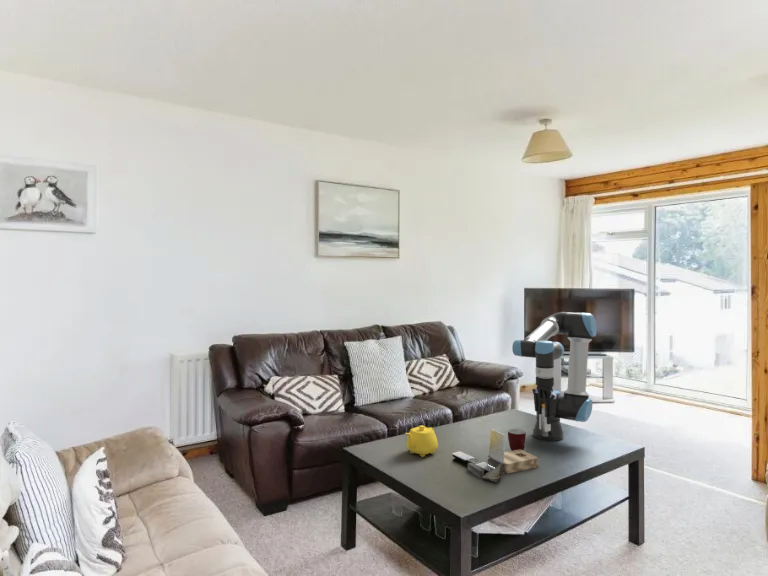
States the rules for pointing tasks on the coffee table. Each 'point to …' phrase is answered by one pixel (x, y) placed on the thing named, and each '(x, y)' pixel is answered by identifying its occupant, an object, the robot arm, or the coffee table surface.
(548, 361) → the robot arm
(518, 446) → the mug
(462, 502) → the coffee table surface
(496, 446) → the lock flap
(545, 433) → the pin
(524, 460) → the block
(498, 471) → the rock sample
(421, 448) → the teapot
